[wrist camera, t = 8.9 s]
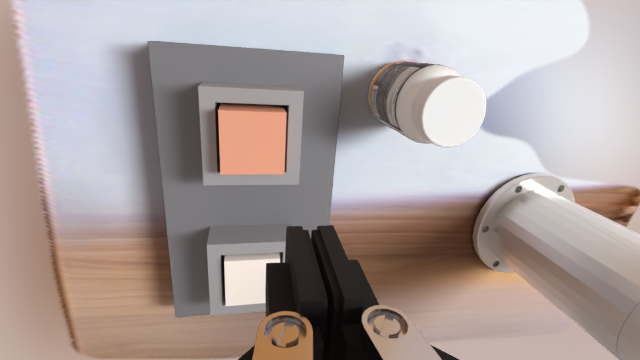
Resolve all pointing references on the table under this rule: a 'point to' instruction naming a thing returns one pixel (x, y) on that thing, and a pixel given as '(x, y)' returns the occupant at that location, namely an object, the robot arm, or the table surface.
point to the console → (238, 190)
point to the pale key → (247, 277)
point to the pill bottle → (427, 102)
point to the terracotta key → (251, 139)
